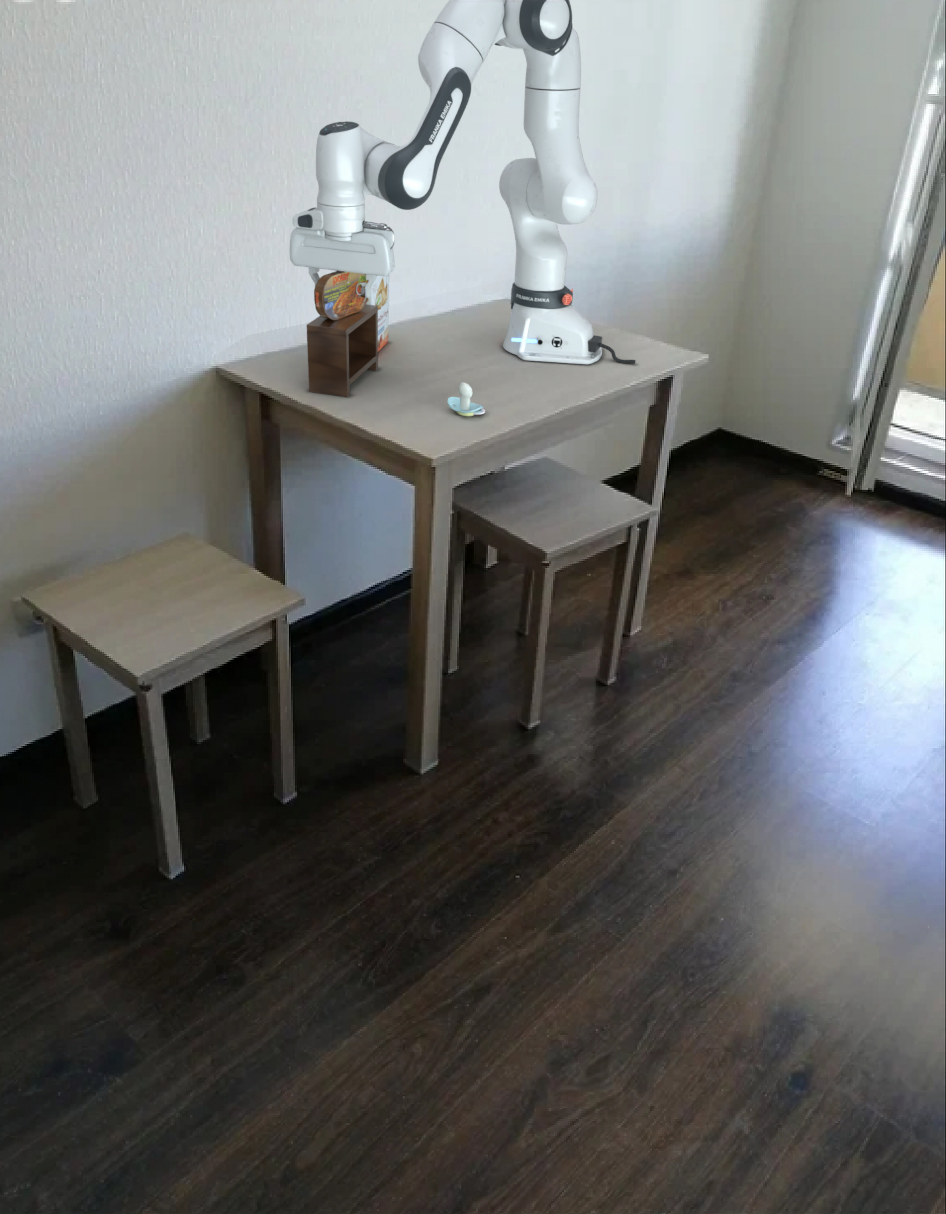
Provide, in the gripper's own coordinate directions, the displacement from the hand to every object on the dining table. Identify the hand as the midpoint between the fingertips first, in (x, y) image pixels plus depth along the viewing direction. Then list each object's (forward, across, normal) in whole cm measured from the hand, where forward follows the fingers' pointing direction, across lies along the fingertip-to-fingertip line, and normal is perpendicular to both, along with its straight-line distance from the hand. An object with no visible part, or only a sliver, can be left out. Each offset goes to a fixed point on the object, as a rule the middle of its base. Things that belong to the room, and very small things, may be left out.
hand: (342, 293), depth 191 cm
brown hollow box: (+17, 0, 0) cm, 17 cm away
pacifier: (+17, -28, +8) cm, 34 cm away
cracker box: (+17, +2, -20) cm, 27 cm away
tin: (+4, 0, 0) cm, 4 cm away
